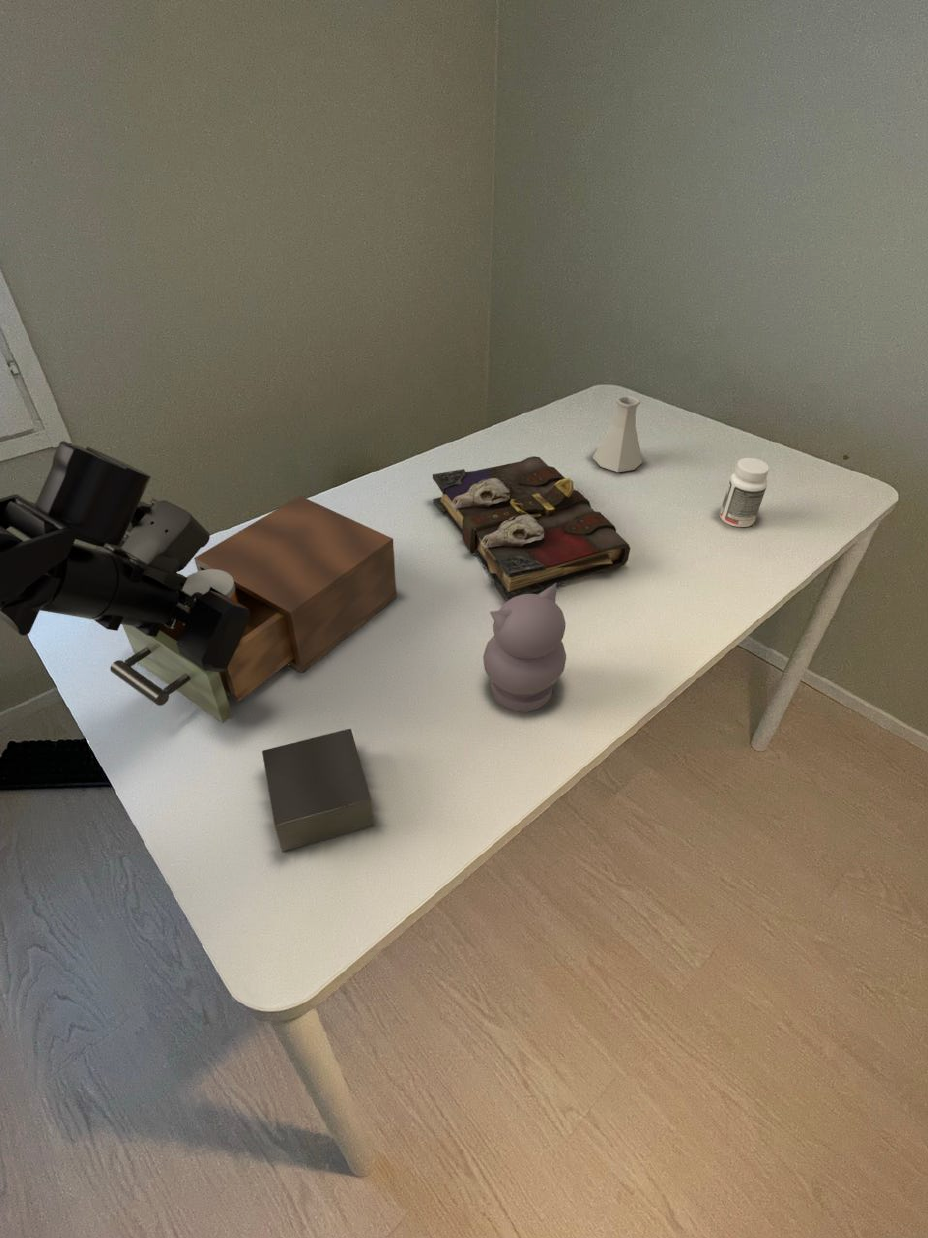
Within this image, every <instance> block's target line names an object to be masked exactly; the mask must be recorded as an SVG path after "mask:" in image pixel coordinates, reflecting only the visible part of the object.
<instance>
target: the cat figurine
mask: <svg viewBox="0 0 928 1238" xmlns="http://www.w3.org/2000/svg"><path fill="white" fill-rule="evenodd" d="M557 585H558V584H557V583H555V584H554V585H552V586H549V587H547V588H546V589H544V590H543V592H541V593H539V594H523V595H519V596H516V597H514V598H512V599H510V600H509V601H507V602H504V603H503V604H502V606H500V608H498V610H493V611H489V613H490V615H491V617H492V620H493V622H492V631H493V632H492V633H493V636H492V637H491V638H490V639H489V641H488V642H487V644H486V646H485V648H484V652H483V655H482V659H483V665H484V671H485V673H486V675H487V677H488V678H489V679H490V681H491V682H490V684H491V686H490V688H491V694H492V695H493V698H495V700H496V702H497V703H499V704H500V705H501V706H502V707H504V708H507V709H509V710H511V711H515V712H522V713H524V712H525V713H526V712H533V711H536V710H538V709H541V708H542V707H544V706H545V705H547V704H548V702H549V701H550V699H551V697H552V692H553V685H554V683H556V682H557V681H558V679H559V678H560V677H561V675H562V674H563V673H564V670H565V668H566V667H565V666H566V662H567V652H566V649H565V645H564V643H563V642H562V640H563V639H564V636H565V632H566V624H567V623H566V619H565V615H564V613H563V610H562V609H561V608H560V606H559V605H558V604H557V603H556V597H557Z"/></svg>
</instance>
